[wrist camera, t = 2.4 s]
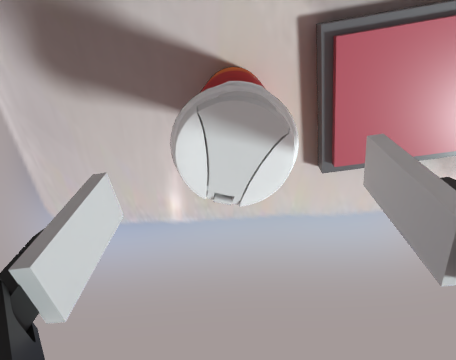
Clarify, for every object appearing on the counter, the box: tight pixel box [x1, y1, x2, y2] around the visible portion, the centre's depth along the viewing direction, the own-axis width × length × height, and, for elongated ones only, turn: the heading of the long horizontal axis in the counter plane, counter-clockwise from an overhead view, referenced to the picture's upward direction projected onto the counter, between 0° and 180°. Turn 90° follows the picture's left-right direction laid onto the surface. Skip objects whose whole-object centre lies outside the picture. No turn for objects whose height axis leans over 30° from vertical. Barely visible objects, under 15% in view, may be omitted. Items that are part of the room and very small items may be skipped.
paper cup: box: [170, 67, 299, 206], centre depth 23 cm, size 8×8×14 cm
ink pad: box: [317, 0, 456, 173], centre depth 27 cm, size 14×14×2 cm
